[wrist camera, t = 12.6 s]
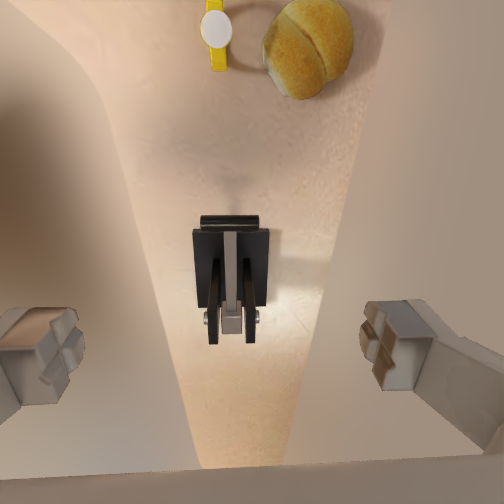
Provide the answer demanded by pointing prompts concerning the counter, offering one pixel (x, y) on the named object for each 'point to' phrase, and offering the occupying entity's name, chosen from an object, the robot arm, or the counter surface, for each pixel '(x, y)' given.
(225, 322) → the lever
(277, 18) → the bread roll
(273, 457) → the counter surface
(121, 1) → the counter surface
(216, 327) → the bracket
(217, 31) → the watch
